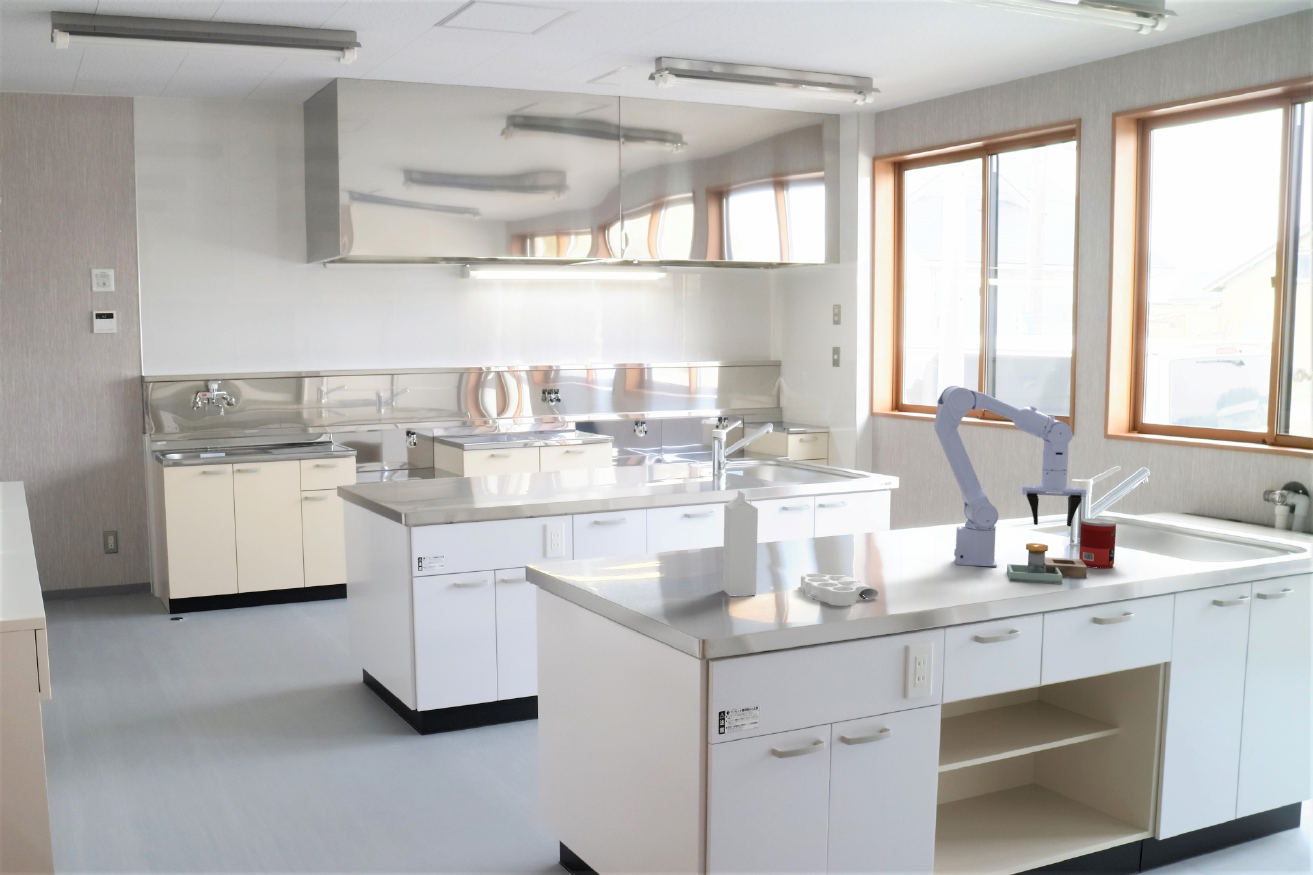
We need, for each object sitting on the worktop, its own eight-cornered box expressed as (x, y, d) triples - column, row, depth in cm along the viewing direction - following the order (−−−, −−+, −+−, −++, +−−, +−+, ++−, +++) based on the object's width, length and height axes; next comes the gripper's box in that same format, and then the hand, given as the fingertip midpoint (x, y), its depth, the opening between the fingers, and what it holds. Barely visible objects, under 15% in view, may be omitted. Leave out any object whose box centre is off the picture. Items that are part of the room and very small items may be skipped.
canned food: (1116, 569, 261) (1119, 524, 260) (1081, 567, 263) (1084, 522, 261) (1110, 562, 268) (1112, 519, 267) (1076, 561, 270) (1078, 517, 269)
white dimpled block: (885, 604, 226) (821, 609, 221) (845, 585, 243) (785, 589, 238) (886, 588, 225) (822, 593, 221) (845, 570, 242) (785, 574, 238)
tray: (1010, 580, 247) (1010, 572, 247) (1006, 572, 256) (1007, 563, 256) (1062, 583, 245) (1062, 575, 244) (1056, 575, 254) (1057, 566, 253)
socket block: (1045, 575, 254) (1046, 564, 253) (1041, 567, 262) (1041, 557, 262) (1086, 577, 252) (1086, 566, 251) (1080, 569, 260) (1081, 559, 260)
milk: (749, 589, 236) (752, 489, 234) (756, 596, 230) (759, 493, 228) (722, 590, 235) (724, 489, 233) (728, 596, 229) (731, 493, 227)
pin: (1024, 576, 249) (1026, 546, 249) (1024, 572, 254) (1026, 542, 253) (1046, 577, 248) (1048, 547, 247) (1046, 573, 252) (1047, 544, 252)
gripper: (1025, 470, 261) (1022, 526, 262) (1089, 472, 257) (1086, 529, 259) (1022, 467, 267) (1019, 521, 269) (1084, 469, 264) (1081, 524, 265)
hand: (1052, 524), depth 264 cm, fingers open, 7 cm apart
